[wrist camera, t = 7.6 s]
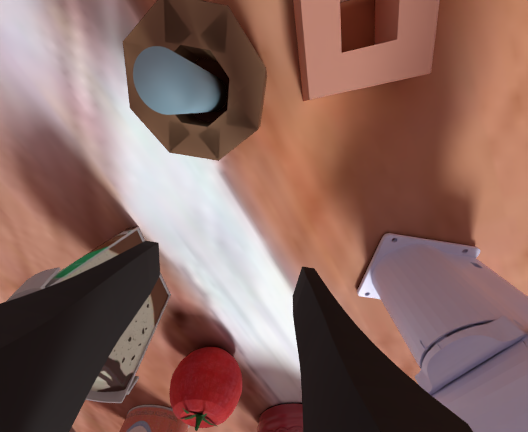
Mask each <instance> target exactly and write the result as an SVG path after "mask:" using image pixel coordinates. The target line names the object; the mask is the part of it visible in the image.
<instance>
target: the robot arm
mask: <svg viewBox="0 0 528 432" xmlns="http://www.w3.org/2000/svg"><path fill="white" fill-rule="evenodd" d="M393 238H395V239H394V240H392V239H393ZM479 253H480V249H479V248H477V247H475V246H469V245H462V244H456V243H450V242H443V241H437V240H430V239H424V238H417V237H411V236H405V235H398V234H392V233H387V234H385V235H384V236H383V237H382V239H381V241H380V243H379V245H378V247H377V250H376V252H375V254H374V256H373V258H372V260H371V262H370V264H369V266H368V269H367V271H366V273H365V275H364V277H363V279H362V281H361V283H360V285H359V288H358V290H357V293H358V295H359V296H362V297H369V298H376V299H381V300H382V302H383V304H384V306H385V307H386V309H387V311H388V313H389V314H390V316H391V318H392V320H393V321H394V323H395V325H396V327H397V328H398V330H399V332H400V334H401V335H402V337H403V339H404V341H405V342H406V344H407V346H408V348H409V349H410V351H411V353H412V355H413V356H414V358H415V360H416V362H417V363H418V365H419V367H420V369H421V371H420V372H419V373H418V374H417V375H416V376H415V378H416V380H417V382H418V384H419V385H418V384H417V383H416V382H415V381H413V380H412V379H411V378H410V377H409V376H407V375H406V374H405V373H404V372H403V371H402V370H401V369H400V368H398V367H397V366H396V365H395V364H394V363H393V362H392V361H391V360H390V359H389V358H388V357H387V356H386V355H385V354H384V353H382V352H381V351H380V350H379V349H378V348H377V347H376V346H375V345H374V344H373V343H372V342H371V340H370V339H369V338H368V337H367V336H366V335H365V334H364V333H363V332H362V331H361V330H360V329H359V328H358V326H357V325H356V324H355V323H354V322H353V321H352V319H351V318H350V317H349V316H348V314H347V313H346V312H345V311H344V310H343V308H342V307H341V306H340V304H339V303H338V302H337V300H336V299H335V298H334V296H333V295H332V294H331V292H330V291H329V289H328V288H327V286H326V285H325V284H324V282H323V281H322V279H321V278H320V276H319V275H318V273H317V272H316V270H315V269H314V268H308V267H302V269H301V272H300V275H299V278H298V282H297V285H296V288H295V291H294V294H293V317H294V325H295V333H296V340H297V347H298V354H299V361H300V370H301V386H302V408H303V432H528V296H526V295H525V294H524V293H522V292H521V291H520V290H518V289H517V288H515V287H514V286H513V285H511V284H510V283H509V282H507V281H506V280H505V279H503V278H502V277H501V276H499V275H498V274H496V273H495V272H494V271H492V270H491V269H490V268H488V267H487V266H486V265H484V264H483V263H481V262H480V261H479V260H477V259H476V257H477V256H478V255H479ZM159 276H160V264H159V246H158V243H156V242H150V241H144V242H142V243H140V244H138V245H136V246H134V247H132V248H130V249H128V250H126V251H125V252H123V253H121V254H119V255H117V256H115V257H113V258H111V259H109V260H107V261H105V262H103V263H101V264H99V265H97V266H95V267H93V268H90V269H88V270H86V271H84V272H82V273H80V274H78V275H76V276H73V277H71V278H69V279H66V280H64V281H62V282H59V283H57V284H54V285H52V286H49V287H46V288H44V289H41V290H39V291H36V292H33V293H30V294H27V295H25V296H22V297H19V298H16V299H13V300H10V301H7V302H4V303H1V304H0V432H69V431H70V429H71V427H72V425H73V423H74V421H75V419H76V417H77V415H78V413H79V411H80V409H81V407H82V405H83V403H84V401H85V399H86V397H87V395H88V394H89V392H90V390H91V388H92V386H93V384H94V382H95V381H96V379H97V377H98V375H99V373H100V371H101V370H102V368H103V366H104V364H105V362H106V361H107V359H108V357H109V355H110V354H111V352H112V350H113V348H114V347H115V345H116V344H117V342H118V340H119V339H120V337H121V336H122V334H123V333H124V331H125V330H126V329H127V327H128V326H129V324H130V323H131V321H132V320H133V318H134V317H135V316H136V314H137V313H138V311H139V310H140V308H141V307H142V305H143V304H144V302H145V301H146V300H147V298H148V297H149V295H150V293H151V292H152V290H153V288H154V286H155V284H156V282H157V280H158V278H159ZM366 292H367V293H366Z"/></svg>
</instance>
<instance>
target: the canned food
mask: <svg viewBox="0 0 528 432" xmlns="http://www.w3.org/2000/svg"><path fill="white" fill-rule="evenodd" d="M188 428H189V425H188V424H186V423H184V422H183V421H181V420H180V419H178V418H177V417H176V416H175V414H174V412H173V409H172V408H169V407H165V406H160V405H140V406H136V407H134V408H132V409H130V410H129V412H128V413H127V417H126V419H125V421H124V423H123V425H122V428H121V430H120V432H187V431H188Z"/></svg>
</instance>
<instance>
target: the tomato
mask: <svg viewBox="0 0 528 432" xmlns="http://www.w3.org/2000/svg"><path fill="white" fill-rule="evenodd" d="M241 392H242V374H241V370H240V368H239V366H238V363H237V361H236V360H235V358H234V357H233V356H231V355H230V354H229V353H228V352H226V351H225V350H223V349H221V348H217V347H204V348H201V349H198V350H195V351H193V352H191V353H190V354H189V355H187V356H186V357H185V358H184V359H183V360H182V361H181V362H180V364H179V365H178V367H177V368H176V370H175V371H174V373H173V376H172V379H171V385H170V403H171V406H172V409H173V412H174V414H175V416H176V417H177V418H178V419H180V420H181V421H183V422H184V423H186V424H188V425H190V426H193V427H195V430H196V431H197V430H198V428H207V427H212V426H216V425H218V424H221V423H223V422H224V421H225V420H226V419H227V418H228V417H229V416H230V415H231V414H232V412H233V411H234V409H235V407H236V406H237V403H238V401H239V398H240V395H241Z"/></svg>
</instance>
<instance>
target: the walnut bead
mask: <svg viewBox="0 0 528 432" xmlns="http://www.w3.org/2000/svg"><path fill="white" fill-rule="evenodd" d="M152 46H161V47H165V48H167V49H169V50H171V51H173V52H175V53H177V54H178V55H180V56H182V57H184V58H185V59H187V60H189V61H191V62H192V63H195V62H196V61H197V60H198V59H199V58H203V59H208V60H214V61H218V62H219V64H220V65H221V67H222V68H223V70H224V71H225V73H226V74H227V76H228V77H229V79H230V80H229V94H228V107H227V111H226V112H224V113H223V114H222V115H221V116H220V117H219V118H217V119H216V120H215V121H214V122H207V121H201V120H198V119H197V118H196V117H195V115H194V114H193V113H189V114H173V115H165V114H161V113H158V112H156V111H154V110H152V109H151V108H150V107H148V106H147V105H146V104H145V103H144V102H143V100H142V99H141V98H140V96H139V94H138V92H137V90H136V88H135V84H134V80H133V68H134V63H135V61H136V59H137V57H138V55H139V54H140V53H141V52H142V51H143V50H145V49H147V48H149V47H152ZM123 48H124V57H125V66H126V75H127V85H128V94H129V103H130V108H131V110H132V111H133V112H134V113H135V114H136V115H137V116H138V118H139V119H140V120H141V121H142V122H143V123H144V124H145V125H146V127H147V128H148V129H149V130H150V131H151V132H152V133H153V134H154V136H155V137H156V138H157V139H158V140H159V141H160V142H161V143H162V145H163V146H164V147H165V148H166V149H167V150H168V151H169V152H170V153H176V154H182V155H188V156H194V157H200V158H206V159H212V160H218V161H219V160H220V159H221V158H222V157H224V156H225V155H226V154H227V153H229V152H230V151H231V150H233V149H234V148H235V147H236V146H238V145H239V144H240V143H241V142H243V141H244V140H245V139H247V138H248V137H249V136H250V135H252V134H253V133H254V132H255V131H257V130H258V128H259V127H260V124H261V116H262V109H263V102H264V95H265V87H266V80H267V72H266V67H265V66H264V64H263V62H262V61H261V59H260V57H259V56H258V54H257V52H256V51H255V49H254V48H253V46H252V44H251V43H250V41H249V39H248V38H247V36H246V34H245V33H244V31H243V29H242V28H241V26H240V24H239V23H238V21H237V19H236V18H235V16H234V15H233V13H232V11H231V10H230V8H229V6H227V5H222V4H217V3H212V2H206V1H201V0H157V1H156V3H155V4H154V5H153V6H152V7H151V9H150V10H149V11H148V12H147V13H146V15H145V16H144V17H143V18H142V19H141V21H140V22H139V23H138V24H137V25H136V27H135V28H134V29H133V30H132V31H131V33H130V34H129V35H128V36H127V37H126V39H125V40H124V41H123Z"/></svg>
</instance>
